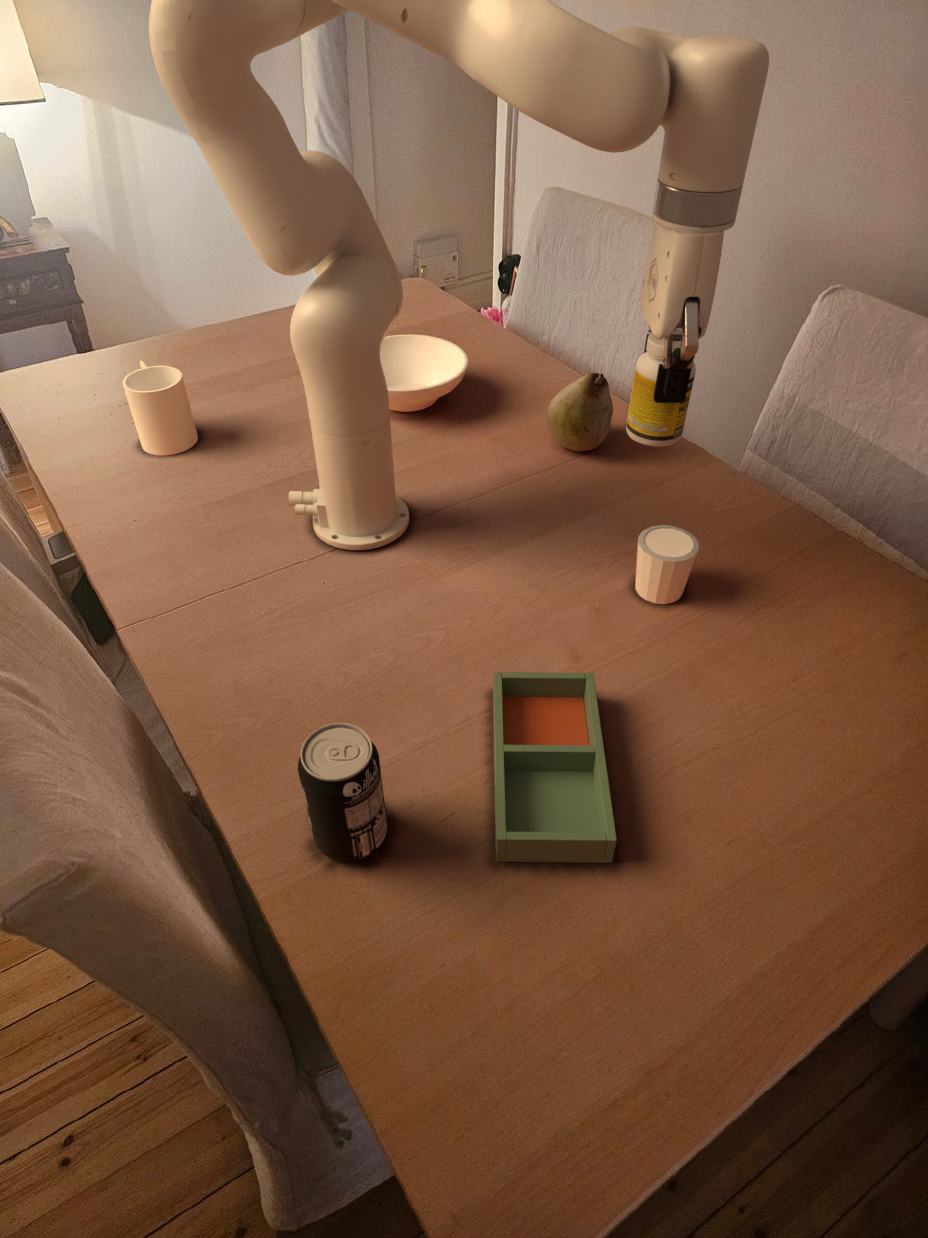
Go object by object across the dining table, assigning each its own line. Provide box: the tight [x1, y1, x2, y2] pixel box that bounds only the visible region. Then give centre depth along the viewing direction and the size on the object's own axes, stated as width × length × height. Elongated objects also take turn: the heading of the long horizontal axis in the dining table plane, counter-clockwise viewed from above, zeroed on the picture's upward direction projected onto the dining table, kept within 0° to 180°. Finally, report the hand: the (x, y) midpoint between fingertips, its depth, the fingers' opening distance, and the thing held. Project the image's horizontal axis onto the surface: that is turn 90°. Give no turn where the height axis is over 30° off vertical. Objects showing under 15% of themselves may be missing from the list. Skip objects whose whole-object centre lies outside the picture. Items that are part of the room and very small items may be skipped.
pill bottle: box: [625, 329, 697, 448], centre depth 87 cm, size 6×6×11 cm
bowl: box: [380, 333, 469, 412], centre depth 130 cm, size 20×20×7 cm
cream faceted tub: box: [634, 524, 700, 605], centre depth 96 cm, size 7×7×7 cm
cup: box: [121, 360, 199, 456], centre depth 121 cm, size 8×12×10 cm
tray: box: [492, 671, 618, 864], centre depth 77 cm, size 10×19×4 cm, turn 179°
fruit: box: [546, 372, 614, 453], centre depth 118 cm, size 10×9×12 cm
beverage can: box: [297, 722, 388, 863], centre depth 70 cm, size 7×7×12 cm
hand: (662, 383), depth 87 cm, fingers closed on pill bottle, 6 cm apart
